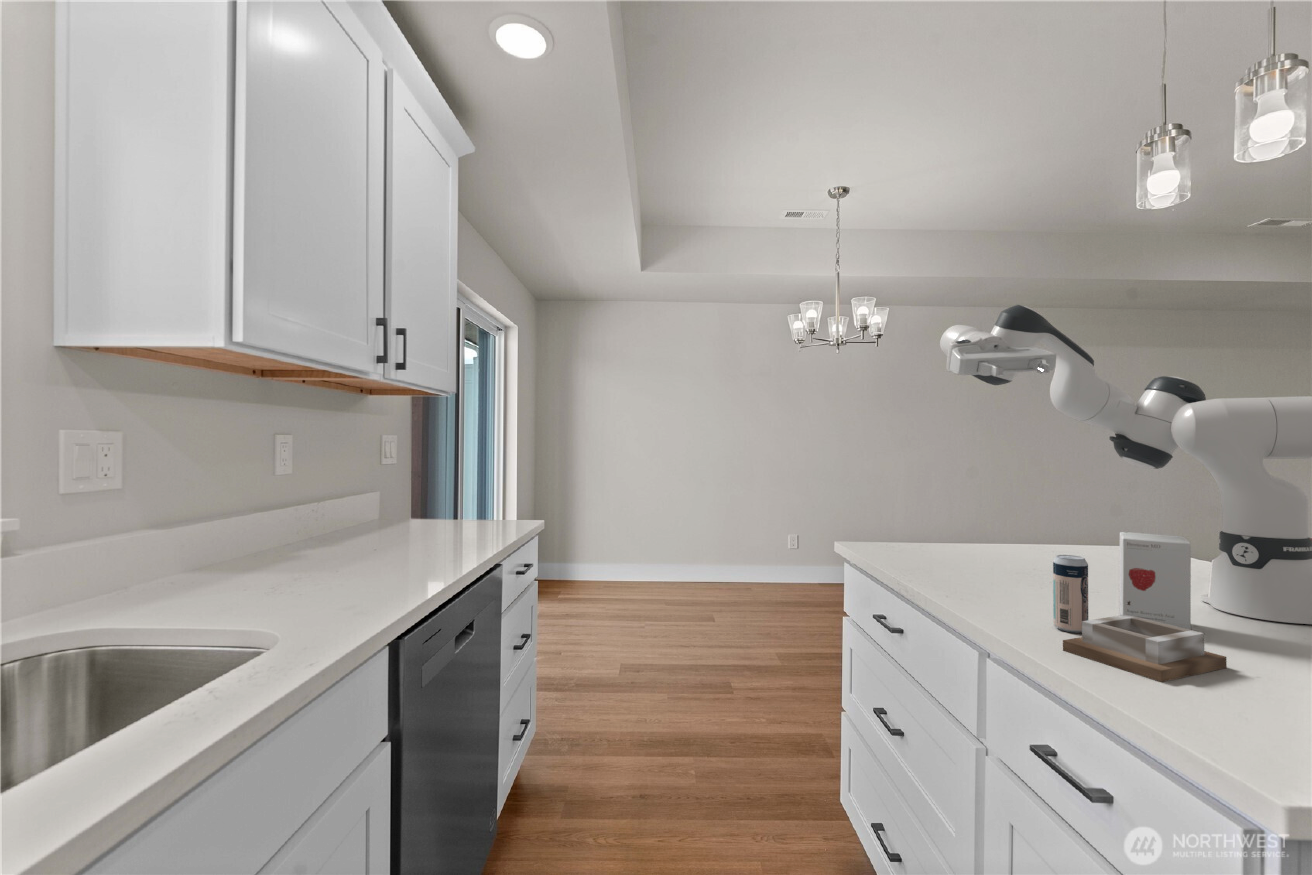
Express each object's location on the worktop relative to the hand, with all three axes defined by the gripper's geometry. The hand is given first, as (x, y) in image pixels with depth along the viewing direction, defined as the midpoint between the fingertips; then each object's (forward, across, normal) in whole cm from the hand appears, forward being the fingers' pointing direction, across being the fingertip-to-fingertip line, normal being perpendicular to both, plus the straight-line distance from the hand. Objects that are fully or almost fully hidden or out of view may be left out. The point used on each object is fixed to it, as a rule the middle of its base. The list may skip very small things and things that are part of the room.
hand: (1023, 371), depth 122 cm
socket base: (+48, +6, -29) cm, 57 cm away
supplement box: (+33, -9, -36) cm, 50 cm away
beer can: (+36, +7, -34) cm, 50 cm away
